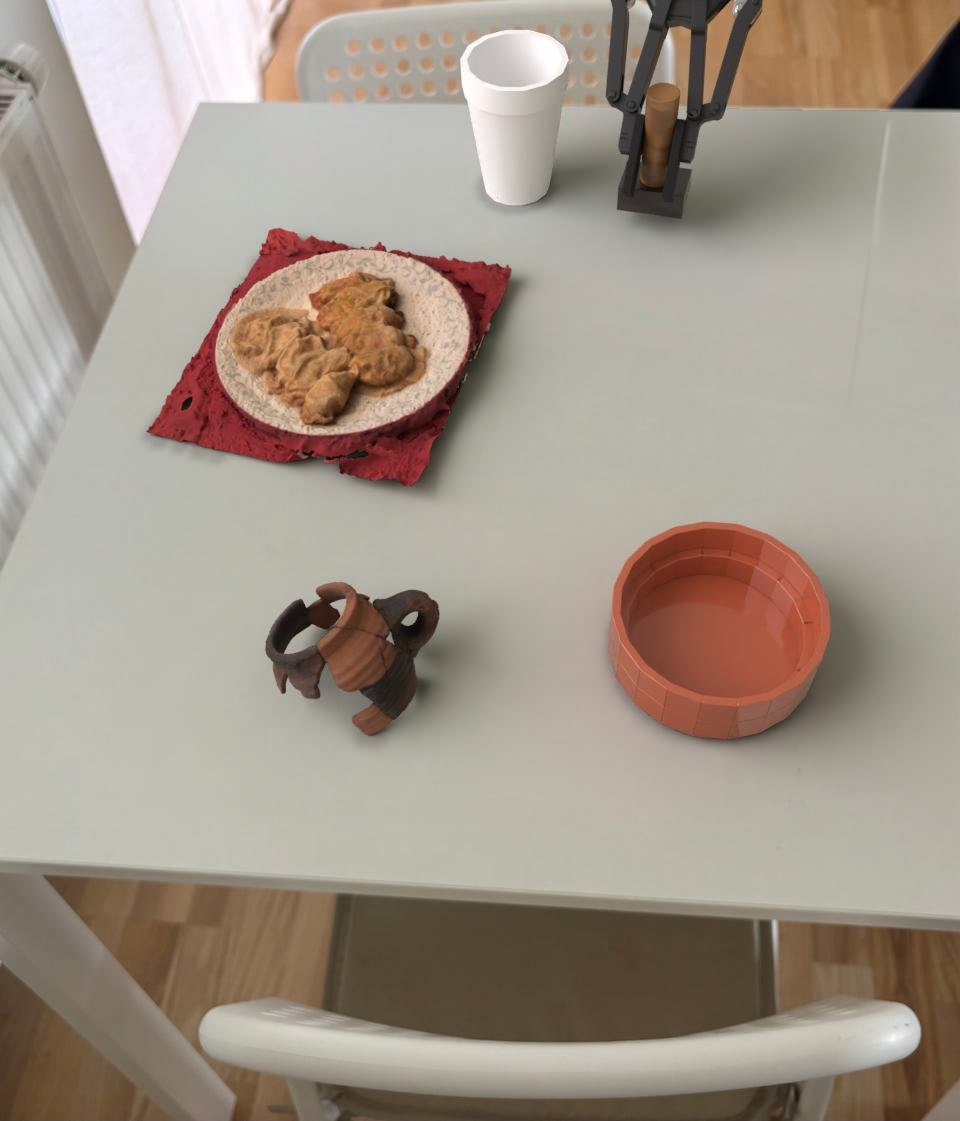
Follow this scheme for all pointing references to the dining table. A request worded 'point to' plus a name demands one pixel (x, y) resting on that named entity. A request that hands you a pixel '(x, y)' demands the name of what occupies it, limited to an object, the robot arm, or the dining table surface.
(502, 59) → the foam cup
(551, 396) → the dining table surface
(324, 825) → the dining table surface
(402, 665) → the pottery mug
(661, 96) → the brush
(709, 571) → the bowl
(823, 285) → the dining table surface
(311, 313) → the plate with food
